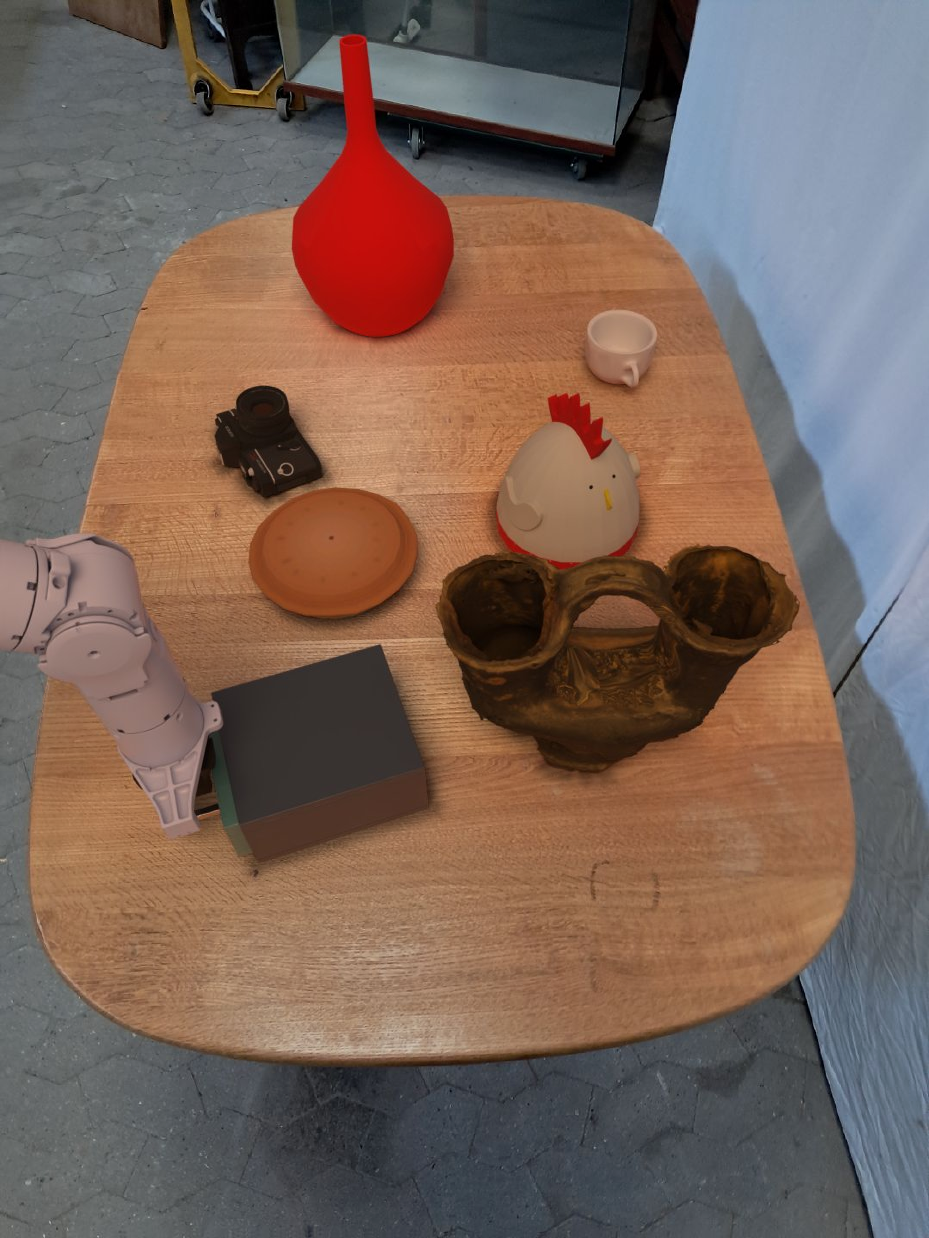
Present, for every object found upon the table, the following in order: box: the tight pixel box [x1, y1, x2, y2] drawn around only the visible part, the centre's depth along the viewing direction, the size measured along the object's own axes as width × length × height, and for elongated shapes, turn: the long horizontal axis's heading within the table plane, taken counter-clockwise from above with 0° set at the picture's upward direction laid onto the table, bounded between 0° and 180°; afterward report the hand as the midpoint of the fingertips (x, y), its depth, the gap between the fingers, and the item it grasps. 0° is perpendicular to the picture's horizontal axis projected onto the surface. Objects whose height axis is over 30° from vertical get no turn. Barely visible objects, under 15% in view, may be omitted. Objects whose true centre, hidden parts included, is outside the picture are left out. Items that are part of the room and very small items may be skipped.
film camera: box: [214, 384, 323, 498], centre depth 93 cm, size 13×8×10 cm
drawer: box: [194, 730, 253, 858], centre depth 70 cm, size 17×10×5 cm, turn 109°
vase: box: [291, 34, 455, 338], centre depth 98 cm, size 18×18×30 cm
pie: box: [248, 486, 419, 620], centre depth 84 cm, size 15×16×5 cm
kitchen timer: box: [495, 392, 642, 570], centre depth 83 cm, size 14×14×15 cm
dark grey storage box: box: [210, 643, 430, 864], centre depth 71 cm, size 14×12×7 cm
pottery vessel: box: [434, 543, 801, 774], centre depth 68 cm, size 25×11×20 cm, turn 92°
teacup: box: [584, 309, 658, 388], centre depth 100 cm, size 10×8×5 cm
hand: (197, 788), depth 69 cm, fingers closed, pressing on drawer
